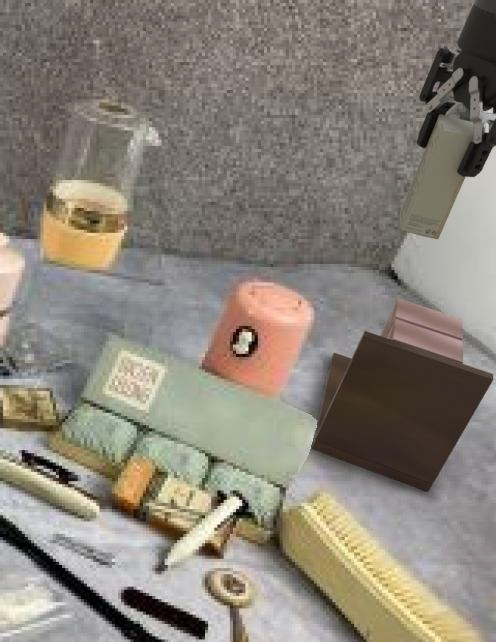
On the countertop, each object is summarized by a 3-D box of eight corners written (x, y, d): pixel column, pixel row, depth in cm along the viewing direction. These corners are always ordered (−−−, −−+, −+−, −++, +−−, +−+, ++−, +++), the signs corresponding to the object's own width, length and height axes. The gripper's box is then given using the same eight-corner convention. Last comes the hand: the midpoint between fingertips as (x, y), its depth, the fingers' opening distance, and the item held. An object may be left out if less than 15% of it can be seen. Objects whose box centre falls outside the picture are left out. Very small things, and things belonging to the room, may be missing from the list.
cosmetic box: (437, 241, 106) (485, 139, 99) (398, 230, 107) (442, 129, 100) (435, 220, 111) (480, 122, 104) (397, 210, 112) (439, 112, 105)
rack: (330, 359, 103) (376, 256, 96) (431, 394, 101) (487, 291, 93) (311, 448, 89) (363, 335, 82) (428, 492, 86) (493, 379, 79)
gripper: (592, 34, 91) (513, 190, 100) (499, -7, 102) (436, 137, 111) (528, 27, 89) (454, 186, 98) (441, -14, 100) (382, 133, 109)
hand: (444, 160), depth 105 cm, fingers closed on cosmetic box, 7 cm apart
